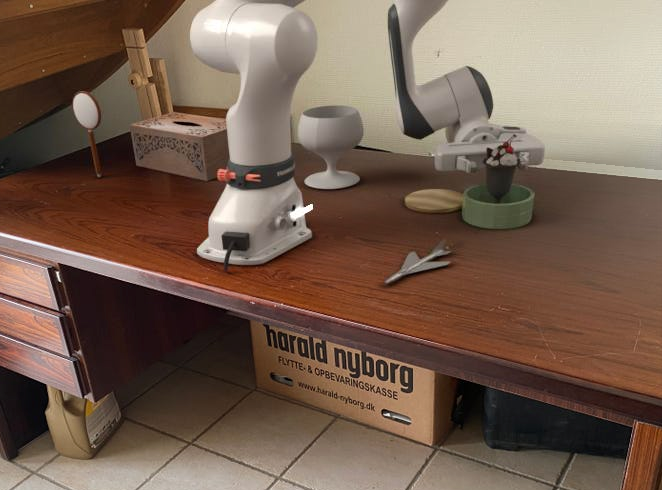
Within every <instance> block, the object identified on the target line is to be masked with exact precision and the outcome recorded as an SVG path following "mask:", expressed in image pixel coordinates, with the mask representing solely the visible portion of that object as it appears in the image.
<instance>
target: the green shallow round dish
mask: <svg viewBox="0 0 662 490" xmlns="http://www.w3.org/2000/svg"><path fill="white" fill-rule="evenodd" d="M462 194H463V205H462V208H461V218H462V220H463V221H464V222H465V223H467V224H469V225H471V226H474V227H478V228H483V229H488V230H489V229H490V230H508V229H514V228H520V227H523V226H525V225H527V224H529V223H530V222H531V220H532V217H533V209H534V203H535V201H534V199H535V192H534V191H533V190H532V189H531V188H529V187H527V186H524V185H520V184H518V183H517V184H516V183H512V185H511V188H510V191H509V192H508V193H507V194H506V195H505V196H503V197H502V198H501V203H500V204H494V199H495V198H494V197H493V196H492V195H491V194H490V193H489V192H488V189H487V182H486V183H479V184H475V185H471V186H469V187H467V188H465V189H464V192H463V193H462Z"/></svg>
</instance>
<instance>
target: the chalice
mask: <svg viewBox="0 0 662 490" xmlns="http://www.w3.org/2000/svg"><path fill="white" fill-rule="evenodd" d="M364 130H365V128H364V123H363V118H362V116H361V113H360V112H359V110H358V109H357V108H356V107H353V106H350V105H336V104H335V105H322V106H316V107H312V108H311V107H310V108H308V109H306V110H304V111H303V112H302V113H301V116H300V118H299V121H298V127H297V139H298V141H299V144H300V145H301V146H302V147H303V148H304V149H306V150H307V151H309V152H311V153H313V154H314V155H317V156H319V157H320V158H322V159H323V160H324V161H325V163H326V166H327V168H326V170H325V171H320V172H315V173H313V174H310V175H309V176H307V177H306V178H305V179H304V184H305V185H306V186H308V187H311V188H315V189H320V190H322V189H323V190H336V189H343V188H347V187H351V186H353V185H356V184H357V183H359V182H360V180H361V178H360V176H359V175H357V174H356V173H354V172H351V171H345V170H337V162H338V160H339V159H340V158H341V157H342V156H343V155H345V154H346V153H348V152H350V151H351V150H353V149H354V148H356V147H357V146H358V145H360V143H361V142H362V141H363V137H364V133H365V131H364Z"/></svg>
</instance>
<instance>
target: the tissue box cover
mask: <svg viewBox="0 0 662 490" xmlns="http://www.w3.org/2000/svg"><path fill="white" fill-rule="evenodd" d="M129 131H130V135H131V141H132V147H133V153H134V159H135V164H136V165H135V166H136V167H137V166H138V167H141V168H146V169H150V170H154V171H160V172H164V173H168V174H172V175H177V176H183V177H186V178H187V177H188V178H191V179H196V180H200V181H203V182H204V181H205V182H209V181H212V180H214V179H216V178H217V179H218V177H217V173H218V170H219V169H224V170H227V165H228V160H229V158H230V154H229V145H228V135H227V125H226V118H218V117H210V116H204V115H197V114H191V113H190V114H188V113H183V112H177V111H172V112H168V113H166V114H162V115H159V116H155V117H151V118H148V119H145V120H142V121H138V122H135V123H131V124H129Z"/></svg>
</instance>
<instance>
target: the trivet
mask: <svg viewBox="0 0 662 490" xmlns="http://www.w3.org/2000/svg"><path fill="white" fill-rule="evenodd" d="M404 205H405V206H406V207H407V208H408V209H410V210H413V211H416V212H419V213H426V214H445V213H451V212H455V211H459V210H462V205H463V193H461V192H459V191H456V190H451V189H447V188H446V189H445V188H430V189H429V188H428V189H421V190H417V191H413V192H411V193H408V194H407V195H406V196H405V198H404Z"/></svg>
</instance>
